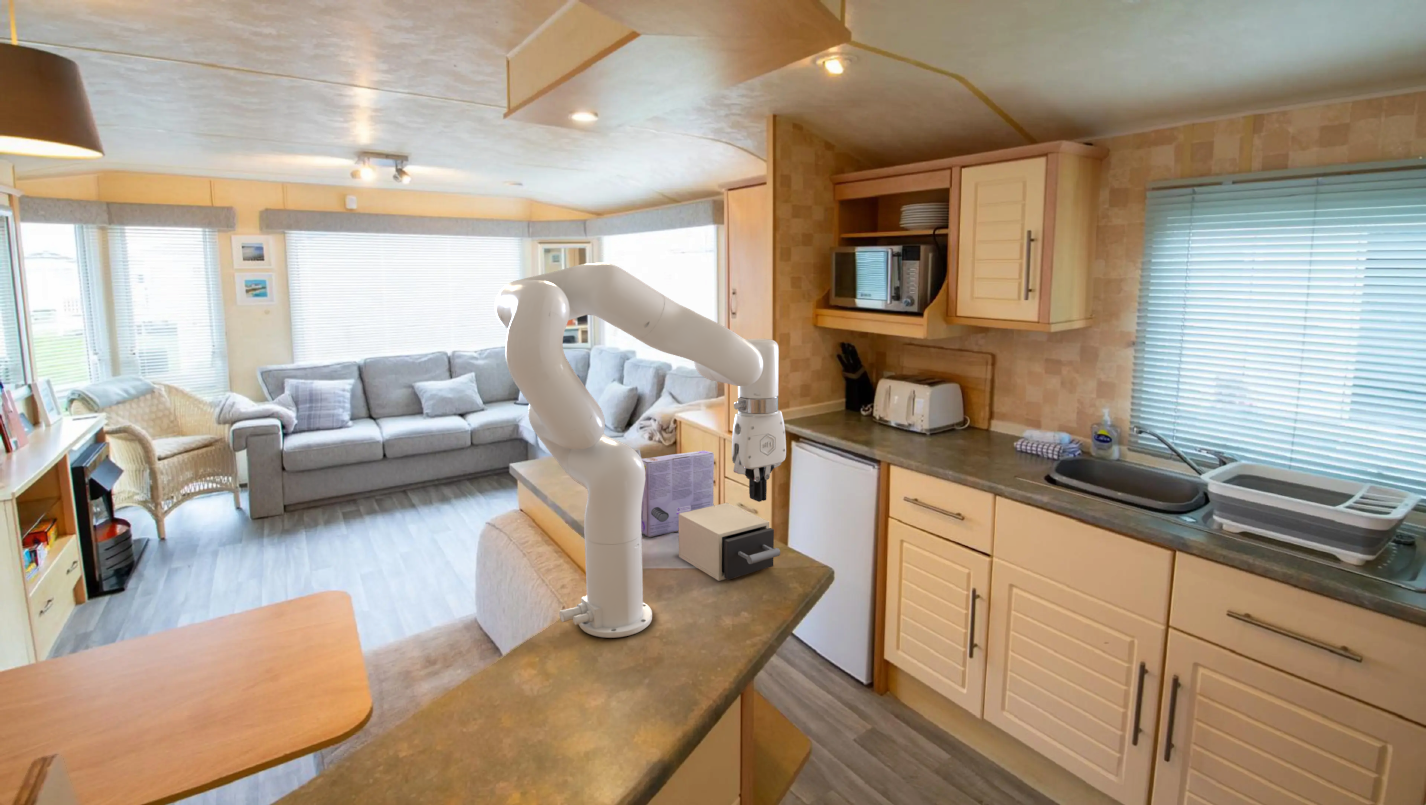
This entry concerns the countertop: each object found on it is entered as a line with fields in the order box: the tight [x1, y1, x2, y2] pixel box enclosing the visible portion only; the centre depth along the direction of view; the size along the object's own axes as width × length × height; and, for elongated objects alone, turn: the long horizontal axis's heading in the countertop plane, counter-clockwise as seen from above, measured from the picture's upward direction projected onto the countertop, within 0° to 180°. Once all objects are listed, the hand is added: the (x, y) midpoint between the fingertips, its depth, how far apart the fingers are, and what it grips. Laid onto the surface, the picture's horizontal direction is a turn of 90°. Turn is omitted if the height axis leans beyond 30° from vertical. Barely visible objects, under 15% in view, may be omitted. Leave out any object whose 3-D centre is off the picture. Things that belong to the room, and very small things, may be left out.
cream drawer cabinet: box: [678, 502, 770, 582], centre depth 144 cm, size 15×13×10 cm
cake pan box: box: [641, 450, 715, 538], centre depth 163 cm, size 19×5×18 cm, turn 123°
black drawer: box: [722, 527, 781, 580], centre depth 140 cm, size 18×11×8 cm, turn 35°
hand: (757, 499), depth 133 cm, fingers closed
